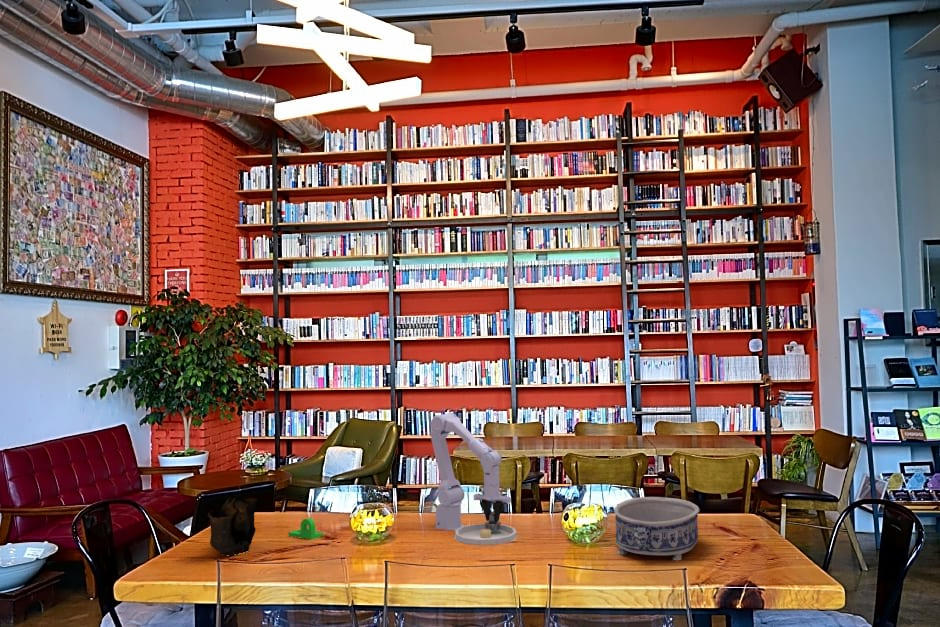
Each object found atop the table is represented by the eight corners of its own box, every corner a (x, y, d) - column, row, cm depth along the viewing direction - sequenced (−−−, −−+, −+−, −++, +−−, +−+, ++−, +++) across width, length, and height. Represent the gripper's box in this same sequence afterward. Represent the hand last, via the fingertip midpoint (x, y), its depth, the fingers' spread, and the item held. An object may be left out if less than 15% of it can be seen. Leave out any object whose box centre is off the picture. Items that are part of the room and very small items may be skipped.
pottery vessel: (237, 543, 265) (236, 489, 266) (265, 544, 263) (264, 489, 264) (200, 565, 240) (200, 504, 241) (231, 566, 238) (230, 505, 239)
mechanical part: (323, 538, 271) (322, 516, 271) (311, 542, 266) (311, 520, 266) (300, 533, 277) (300, 512, 278) (288, 537, 272) (288, 516, 273)
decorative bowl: (635, 531, 270) (634, 491, 271) (709, 539, 258) (708, 497, 258) (601, 564, 232) (599, 517, 233) (686, 575, 220) (684, 525, 221)
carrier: (443, 543, 260) (442, 534, 260) (472, 527, 280) (471, 519, 280) (501, 550, 249) (501, 541, 249) (527, 533, 270) (526, 525, 270)
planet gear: (482, 529, 269) (481, 514, 269) (489, 525, 274) (488, 510, 274) (496, 531, 266) (496, 516, 266) (503, 526, 271) (502, 512, 272)
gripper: (469, 484, 270) (470, 521, 270) (505, 487, 264) (505, 525, 263) (478, 481, 277) (478, 517, 276) (512, 483, 270) (513, 520, 270)
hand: (492, 520), depth 270 cm, fingers closed on planet gear, 3 cm apart
